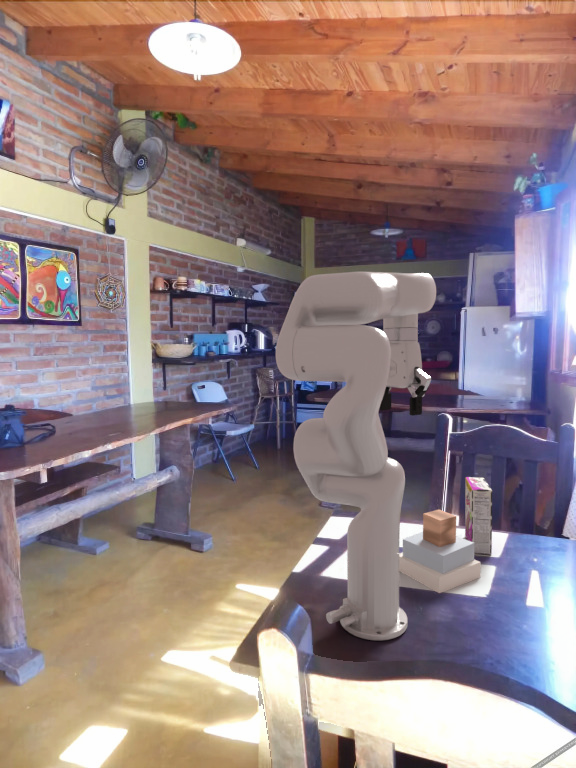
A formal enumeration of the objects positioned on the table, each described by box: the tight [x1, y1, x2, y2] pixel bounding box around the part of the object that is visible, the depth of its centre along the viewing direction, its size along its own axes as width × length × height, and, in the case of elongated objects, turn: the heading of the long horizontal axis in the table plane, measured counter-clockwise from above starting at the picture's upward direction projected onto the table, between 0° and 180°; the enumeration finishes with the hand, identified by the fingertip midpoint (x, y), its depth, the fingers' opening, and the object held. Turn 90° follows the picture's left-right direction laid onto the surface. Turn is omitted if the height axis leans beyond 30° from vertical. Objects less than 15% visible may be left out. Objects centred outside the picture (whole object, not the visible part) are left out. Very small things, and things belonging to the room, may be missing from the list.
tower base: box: [399, 551, 482, 594], centre depth 110 cm, size 13×13×4 cm
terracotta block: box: [422, 509, 457, 547], centre depth 110 cm, size 5×5×6 cm
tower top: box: [402, 531, 475, 574], centre depth 110 cm, size 11×11×4 cm
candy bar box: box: [464, 476, 493, 556], centre depth 124 cm, size 11×5×16 cm, turn 168°
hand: (400, 412), depth 111 cm, fingers open, 9 cm apart
